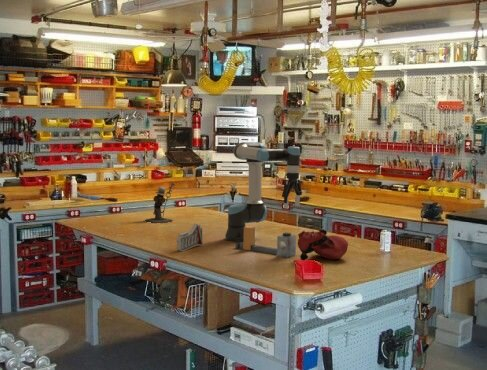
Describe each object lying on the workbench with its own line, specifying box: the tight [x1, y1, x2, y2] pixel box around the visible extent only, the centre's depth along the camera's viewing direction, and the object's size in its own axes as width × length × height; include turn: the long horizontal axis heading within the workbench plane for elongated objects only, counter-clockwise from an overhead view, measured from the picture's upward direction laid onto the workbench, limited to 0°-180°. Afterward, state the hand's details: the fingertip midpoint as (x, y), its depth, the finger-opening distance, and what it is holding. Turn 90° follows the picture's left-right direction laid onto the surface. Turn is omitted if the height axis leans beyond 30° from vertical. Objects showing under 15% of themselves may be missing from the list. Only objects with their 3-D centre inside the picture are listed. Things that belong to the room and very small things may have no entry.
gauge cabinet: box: [276, 233, 297, 259], centre depth 362 cm, size 7×10×12 cm
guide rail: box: [234, 241, 277, 256], centre depth 373 cm, size 31×5×4 cm, turn 56°
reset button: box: [282, 232, 292, 237], centre depth 361 cm, size 3×3×6 cm
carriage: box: [242, 225, 256, 251], centre depth 376 cm, size 5×6×14 cm
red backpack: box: [297, 227, 349, 261], centre depth 355 cm, size 24×20×30 cm
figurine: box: [144, 182, 176, 224], centre depth 475 cm, size 23×23×30 cm
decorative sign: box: [176, 223, 204, 252], centre depth 377 cm, size 23×3×15 cm, turn 149°
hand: (291, 207), depth 371 cm, fingers open, 13 cm apart
